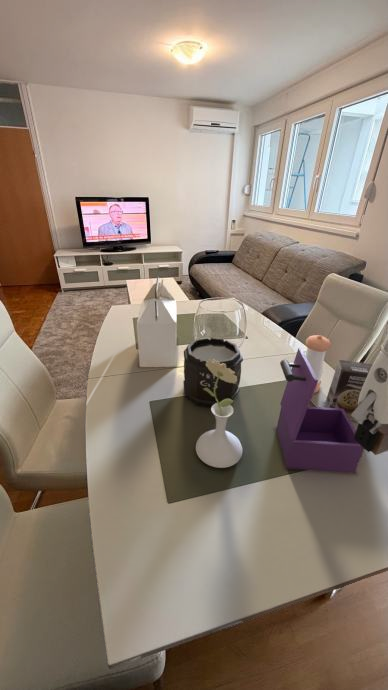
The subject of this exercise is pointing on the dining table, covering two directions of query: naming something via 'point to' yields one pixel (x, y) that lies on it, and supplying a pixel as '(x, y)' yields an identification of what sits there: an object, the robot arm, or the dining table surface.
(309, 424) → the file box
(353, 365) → the coffee box
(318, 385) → the pepper shaker
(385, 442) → the block
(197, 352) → the black pot
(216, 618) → the dining table surface
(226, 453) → the flower in vase
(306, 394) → the lid
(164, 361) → the gable box
